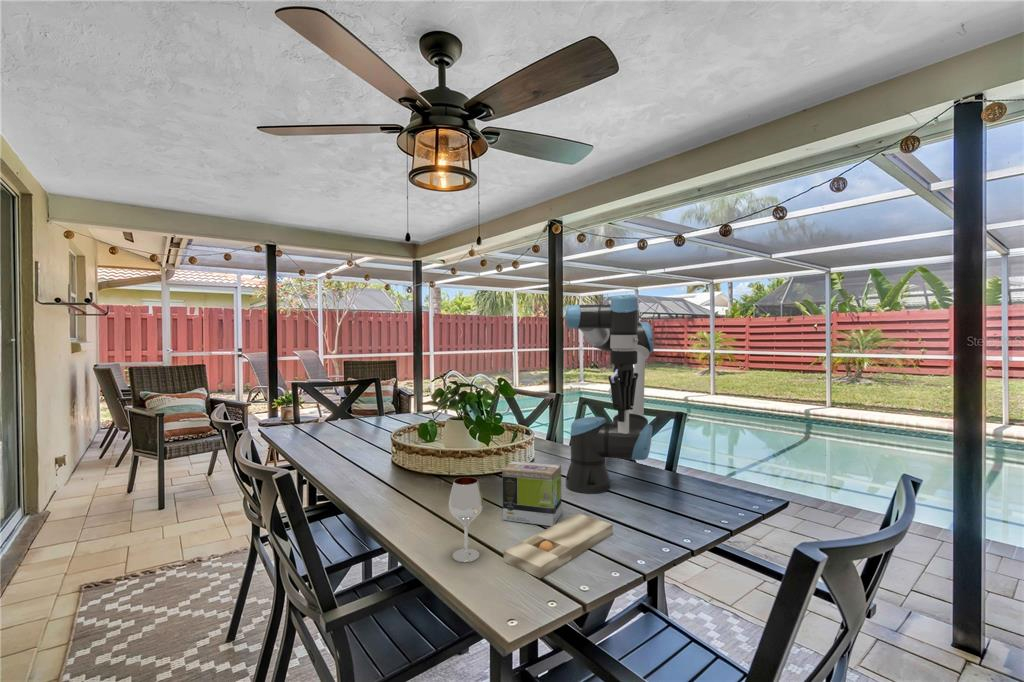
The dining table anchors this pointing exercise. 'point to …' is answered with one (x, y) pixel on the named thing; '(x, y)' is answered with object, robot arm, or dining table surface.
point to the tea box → (532, 492)
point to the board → (557, 544)
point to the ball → (546, 546)
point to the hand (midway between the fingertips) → (623, 432)
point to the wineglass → (465, 511)
